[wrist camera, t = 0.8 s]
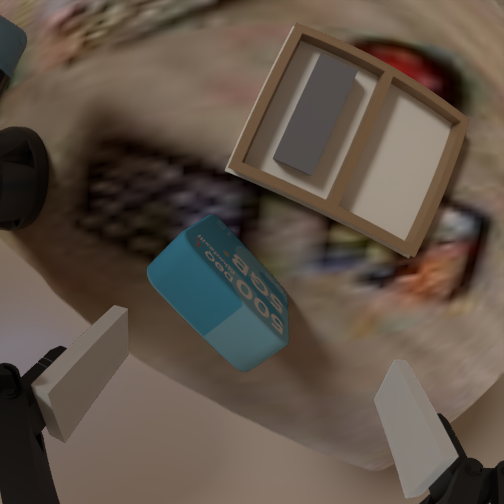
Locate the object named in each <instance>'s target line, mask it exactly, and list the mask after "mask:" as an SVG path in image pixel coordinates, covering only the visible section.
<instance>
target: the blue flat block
mask: <svg viewBox="0 0 504 504" xmlns="http://www.w3.org/2000/svg"><path fill="white" fill-rule="evenodd" d="M147 276H148V279H149V281H150V283H151V285H152V286H153V287H154V288H155V289H156V291H157V292H158V293H159V294H160V295H161V296H162V297H163V298H164V299H165V300H166V301H167V302H168V303H169V304H170V305H171V306H172V307H173V308H174V309H175V310H176V311H177V312H178V313H179V315H180V316H181V317H182V318H183V319H184V320H185V321H186V322H187V323H188V324H189V325H190V326H191V327H192V328H193V329H194V330H195V331H196V332H198V333H199V334H200V335H201V336H202V337H203V338H204V339H205V340H206V341H207V342H208V343H209V344H210V345H211V346H212V347H213V348H214V349H215V350H216V351H217V352H218V353H219V354H221V355H222V356H223V357H224V358H225V359H226V360H227V361H228V362H229V363H230V364H231V365H232V366H234V367H235V368H236V369H238V370H240V371H242V372H248V371H250V370H251V369H253V368H254V367H256V366H257V365H259V364H260V363H262V362H263V361H265V360H266V359H268V358H269V357H271V356H272V355H274V354H275V353H277V352H278V351H280V350H281V349H283V348H284V347H285V346H287V345H288V343H289V323H288V301H287V295H286V293H285V291H284V289H283V288H282V286H281V285H280V284H279V283H278V282H277V281H276V279H275V278H274V277H273V276H272V275H271V274H270V273H269V272H268V271H267V270H266V269H265V267H264V266H263V265H262V264H261V263H260V262H259V261H258V260H257V259H256V258H255V256H254V255H253V254H252V253H251V252H250V251H249V250H248V249H247V248H246V247H245V246H244V244H243V243H242V242H241V241H240V240H239V239H238V238H237V237H236V236H235V235H234V233H233V232H232V231H231V230H230V229H229V228H228V227H227V226H226V225H225V224H224V223H223V222H222V221H221V220H220V219H219V218H218V217H216V216H215V215H208V216H207V217H205V218H203V219H202V220H200V221H198V222H197V223H195V224H193V225H192V226H190V227H189V228H187V229H185V230H184V231H182V232H181V233H180V234H179V235H178V236H177V237H176V238H175V239H174V240H173V241H172V242H171V243H170V244H169V245H168V246H167V247H166V248H165V249H164V250H163V251H162V252H161V253H160V254H159V255H158V256H157V257H156V258H155V259H154V260H153V261H152V262H151V263H150V265H149V266H148V267H147Z"/></svg>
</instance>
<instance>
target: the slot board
mask: <svg viewBox="0 0 504 504" xmlns="http://www.w3.org/2000/svg"><path fill="white" fill-rule="evenodd" d="M320 54H323V55H325V56H328V57H330V58H332V59H334V60H337V61H339V62H341V63H343V64H345V65H347V66H349V67H351V68H353V69H355V70H357V71H358V72H357V74H356V77H355V79H354V81H353V84H352V86H351V88H350V91H349V93H348V95H347V98H346V100H345V102H344V104H343V107H342V109H341V111H340V114H339V116H338V118H337V121H336V123H335V125H334V127H333V130H332V132H331V134H330V136H329V139H328V141H327V143H326V145H325V148H324V150H323V152H322V154H321V157H320V159H319V161H318V163H317V165H316V168H315V170H314V172H313V174H312V176H309V175H307V174H305V173H303V172H301V171H298V170H296V169H294V168H292V167H290V166H287V165H285V164H283V163H281V162H278V161H276V160H274V159H273V156H274V154H275V152H276V149H277V147H278V145H279V143H280V141H281V138H282V136H283V134H284V132H285V130H286V127H287V125H288V123H289V121H290V118H291V116H292V114H293V112H294V110H295V108H296V105H297V103H298V101H299V99H300V97H301V95H302V92H303V90H304V88H305V86H306V84H307V82H308V79H309V77H310V75H311V73H312V71H313V69H314V67H315V64H316V62H317V60H318V58H319V56H320ZM468 124H469V119H468V118H467V117H466V116H464V115H463V114H462V113H461V112H459V111H458V110H457V109H455V108H454V107H453V106H451V105H450V104H449V103H447V102H446V101H445V100H443V99H442V98H440V97H439V96H438V95H436V94H435V93H433V92H432V91H430V90H429V89H427V88H426V87H424V86H423V85H421V84H420V83H418V82H417V81H415V80H413V79H412V78H410V77H409V76H407V75H405V74H404V73H402V72H400V71H399V70H397V69H395V68H393V67H392V66H390V65H388V64H386V63H385V62H383V61H381V60H379V59H377V58H375V57H373V56H372V55H370V54H368V53H366V52H364V51H362V50H360V49H358V48H356V47H353V46H351V45H349V44H347V43H345V42H343V41H341V40H338V39H336V38H334V37H331V36H329V35H327V34H324V33H322V32H319V31H317V30H314V29H312V28H309V27H307V26H304V25H301V24H298V23H296V25H295V27H294V26H293V27H292V29H291V31H290V33H289V35H288V37H287V39H286V41H285V43H284V45H283V46H282V48H281V50H280V52H279V54H278V56H277V58H276V60H275V62H274V64H273V66H272V68H271V70H270V73H269V75H268V77H267V79H266V81H265V83H264V85H263V87H262V89H261V91H260V93H259V95H258V98H257V100H256V102H255V104H254V106H253V108H252V110H251V113H250V115H249V117H248V119H247V121H246V123H245V126H244V128H243V130H242V132H241V135H240V137H239V139H238V141H237V144H236V146H235V148H234V150H233V153H232V155H231V157H230V160H229V162H228V164H227V167H226V169H225V171H226V172H229V173H231V174H234V175H236V176H238V177H241V178H243V179H245V180H248V181H250V182H252V183H255V184H257V185H259V186H262V187H264V188H266V189H268V190H271V191H273V192H275V193H277V194H280V195H282V196H284V197H286V198H288V199H291V200H293V201H295V202H297V203H299V204H302V205H304V206H306V207H308V208H310V209H312V210H314V211H316V212H319V213H321V214H323V215H325V216H327V217H329V218H331V219H333V220H335V221H337V222H339V223H341V224H343V225H345V226H347V227H349V228H351V229H353V230H355V231H357V232H359V233H361V234H363V235H365V236H367V237H369V238H371V239H373V240H375V241H377V242H379V243H381V244H383V245H385V246H386V247H388V248H390V249H392V250H394V251H396V252H398V253H400V254H401V255H403V256H405V257H407V258H409V257H410V255H411V256H413V257H415V256H416V254H417V252H418V250H419V248H420V246H421V243H422V241H423V239H424V237H425V235H426V233H427V231H428V229H429V227H430V224H431V222H432V220H433V218H434V216H435V213H436V211H437V209H438V206H439V204H440V202H441V199H442V197H443V194H444V192H445V190H446V187H447V185H448V182H449V179H450V177H451V174H452V171H453V169H454V166H455V163H456V161H457V158H458V155H459V152H460V149H461V146H462V143H463V140H464V137H465V134H466V130H467V127H468Z"/></svg>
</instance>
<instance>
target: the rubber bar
mask: <svg viewBox="0 0 504 504" xmlns="http://www.w3.org/2000/svg"><path fill="white" fill-rule="evenodd" d="M357 72H358V71H357V70H355V69H353V68H351V67H349V66H347V65H345V64H343V63H341V62H339V61H337V60H334V59H332V58H330V57H328V56H325V55H323V54H320V56H319V58H318V60H317V62H316V64H315V67H314V69H313V71H312V73H311V75H310V77H309V79H308V82H307V84H306V86H305V88H304V90H303V92H302V95H301V97H300V99H299V101H298V103H297V105H296V108H295V110H294V112H293V114H292V116H291V118H290V121H289V123H288V125H287V127H286V130H285V132H284V134H283V136H282V138H281V141H280V143H279V145H278V147H277V149H276V152H275V154H274V156H273V159H274V160H276V161H278V162H281V163H283V164H285V165H287V166H290V167H292V168H294V169H296V170H298V171H301V172H303V173H305V174H307V175H309V176H312V174H313V172H314V170H315V168H316V165H317V163H318V161H319V159H320V157H321V154H322V152H323V150H324V148H325V145H326V143H327V141H328V139H329V136H330V134H331V132H332V130H333V127H334V125H335V123H336V121H337V118H338V116H339V114H340V111H341V109H342V107H343V104H344V102H345V100H346V98H347V95H348V93H349V91H350V88H351V86H352V84H353V81H354V79H355V77H356V74H357Z"/></svg>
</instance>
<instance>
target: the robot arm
mask: <svg viewBox="0 0 504 504" xmlns="http://www.w3.org/2000/svg"><path fill="white" fill-rule="evenodd" d="M26 45H27V36H26V33H25V32H24V31H23V30H22V29H21V28H19V27H18V26H17V25H15V24H14V23H12V22H10V21H9V20H7V19H6V18H4V17H2V16H1V15H0V98H1V96H2V94H3V92H4V90H5V88H6V86H7V84H8V82H9V80H10V78H11V79H12V77H13V75H14V74H13V72H14V70H15V68H16V66H17V64H18V62H19V60H20V58H21V56H22V54H23V52H24V50H25V48H26ZM47 185H48V163H47V156H46V152H45V148H44V146H43V143H42V141H41V139H40V138H39V136H38V135H37V134H36V133H35V132H34V131H33V130H31V129H29V128H26V127H9V128H6V129H3V130H1V131H0V230H6V231H13V230H17V229H21V228H24V227H26V226H28V225H30V224H31V223H32V222H33V221H34V220H35V219H36V217H37V216H38V214H39V212H40V210H41V208H42V206H43V203H44V200H45V196H46V191H47ZM128 355H129V352H128V309H127V308H123V307H120V306H116V305H114V306H112V307H111V308H110V309H109V310H108V311H107V312H106V313H105V314H104V315H103V316H102V317H100V318H99V319H98V320H97V321H96V322H95V323H94V324H93V325H92V326H91V327H90V328H89V329H88V330H86V332H84V333H83V334H82V335H81V336H80V337H79V338H78V339H77V340H76V341H75V342H74V343H73V344H72V345H71V346H70V347H69V348H65V347H63V346H59V347H56V348H54V349H52V350H50V351H49V352H48V353H47V354H46V355H45V356H44V357H43V358H41V359H40V360H39V361H38V363H36V364H35V365H34V366H33V367H32V368H31V369H30V370H29V371H27V373H25V374H24V375H23V376H22V377H20V373H19V370H18V369H17V368H16V366H14V365H12V364H9V363H1V364H0V492H1V498H2V503H3V504H60V503H59V500H58V496H57V493H56V490H55V486H54V482H53V479H52V475H51V471H50V467H49V462H48V458H47V453H46V449H45V443H44V438H43V435H42V432H41V431H42V430H43V429H44V427H45V426H46V427H47V430H48V432H49V434H50V435H51V436H53V437H55V438H57V439H59V440H60V441H63V442H64V443H65V442H66V441H67V439H68V438H69V437H70V435H71V433H72V432H73V431H74V429H75V428H76V427H77V425H78V424H79V422H80V421H81V419H82V418H83V416H84V415H85V414H86V412H87V411H88V410H89V408H90V407H91V405H92V404H93V402H94V401H95V400H96V398H97V397H98V396H99V394H100V393H101V391H102V390H103V389H104V387H105V386H106V384H107V383H108V382H109V380H110V379H111V378H112V376H113V375H114V374H115V372H116V371H117V369H118V368H119V367H120V365H121V364H122V363H123V361H124V360H125V359H126V357H127V356H128ZM373 400H374V403H375V405H376V408H377V411H378V414H379V417H380V420H381V423H382V425H383V428H384V431H385V434H386V437H387V440H388V443H389V446H390V449H391V452H392V456H393V459H394V462H395V465H396V468H397V472H398V475H399V478H400V481H401V485H402V488H403V492H404V495H405V498H411V497H417V496H421V495H422V494H423V493H424V492H425V491H426V490H427V489H428V488H429V490H430V495H428V496H427V497H426V498H425V499H424V500H423V501H422V502H421V503H419V504H489V503H490V502H491V504H504V461H501V462H500V463H498V465H497V466H496V467H495V468H483V465H482V464H481V463H480V462H479V461H478V460H476V459H474V458H467V456H466V454H465V452H464V450H463V448H462V446H461V444H460V442H459V440H458V439H457V437H456V436H455V433H454V431H453V430H452V427H451V425H450V424H449V422H448V420H447V419H446V418H445V417H444V416H443V415H442V414H441V413H439V414H437V413H436V411H435V409H434V408H433V406H432V404H431V402H430V400H429V399H428V397H427V395H426V393H425V391H424V390H423V388H422V386H421V384H420V383H419V381H418V379H417V378H416V376H415V374H414V372H413V371H412V369H411V367H410V366H409V364H408V362H407V361H406V360H399V359H394V360H393V362H392V364H391V366H390V368H389V370H388V372H387V374H386V376H385V378H384V380H383V382H382V384H381V386H380V388H379V390H378V392H377V394H376V396H375V398H374V399H373Z"/></svg>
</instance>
